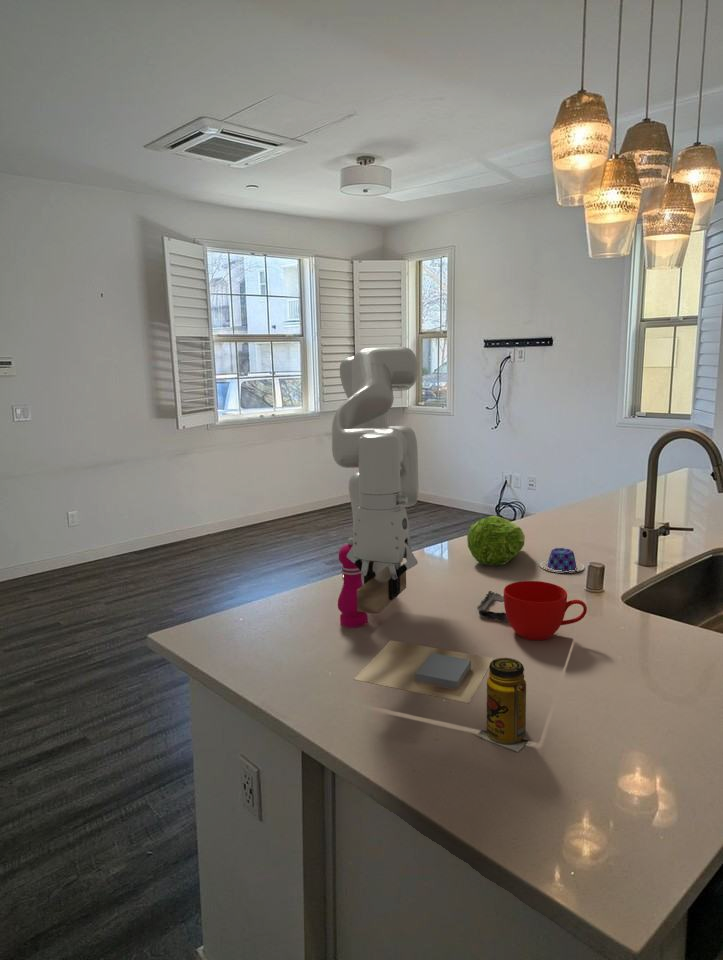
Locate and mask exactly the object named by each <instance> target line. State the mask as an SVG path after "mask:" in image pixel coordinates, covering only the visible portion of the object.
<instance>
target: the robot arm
mask: <svg viewBox="0 0 723 960" xmlns="http://www.w3.org/2000/svg"><path fill="white" fill-rule="evenodd" d="M418 365H419V363H418V360H417V357H416V354H415V352H414V351H413V350H412V349H411V348H409V347H406V346H388V347H387V346H384V347H368V348H367V347H366V348H363V349H361V350H359V351H358V352H356V353H355V354H354V356H350V357H346V358H345V359H342V361H341V362H340V364H339V377H340V382H341V385H342V388H343V391H344V393H345V395H346V397H347V399H346V400H345V401H344V402H343V403H342V404H341V405H340V406H339V408H337V410H336V411H335V413H334V416H333V419H332V425H331V451H332V452H331V453H332V457H333V460H334V461H335V464H337V465H338V466H340V467H342V468H346V469H348V468H350V469H351V468H352V469H354V468H357V469H358V471H357V472H355V473H353V474H352V475H351V476H350V478H349V481H348V493H349V500H350V503H351V504H350V506H351V511H352V512H351V513H352V525H353V529H352V530H353V535H352V536H353V537H352V538H353V546H352V548H351V549H350V551H349V552H348V554H347V558H348V559H349V560H351V561H352V562H353V563H355V565H356V566H357V567H358V569H359V570H360V571H361V574H362V575H361V578H362V584H363V585H364V584H365V583H366V582H368V581H369V580H371V579H372V578H373V577H374V576H376V574H378V573H379V572H380V571H381V570H383V569H384V568H385V567H386V566H389V569H390V574H391V578H390V579H389V581H388V583H389V599H390V600H393V601H394V600H396V598H397V597H398V596H399V595H400V594H401V593H400V576H401V575H402V574H403V573H404V572H405V571H406V572H407V571H408V570H410V569H412V568H414V567H416V566H417V565H418V559H417V557H416V556H415V555H414V553H413V551H412V550H411V549H412V544H411V532H410V525H409V519H408V513H407V510H406V507H407V508H408V507H412V506H414V505H416V503H417V502H418V499H419V458H418V455H419V454H418V441H417V440H418V439H417V437H416V433H415V431H414V430H413V429H412V428H411V427H409V426H407V425H393V426H392V425H390V426H389V425H388V424H387V413H388V412H389V410H390V409H391V408H392V406H393V404H394V392H400V391H401V392H402V391H403V392H404V391H408V390H410V389H411V388H412V387H413V386H414V385H415V383H416V382H417V379H418V376H419V375H418V374H419V366H418ZM404 559H405V560H406V562H405V563H403V561H404ZM402 563H403V564H402ZM341 573H342V572H341ZM341 576H342V577H341V578H342V579H341V580H342V581H343V582H344V575H343V573H342V574H341Z"/></svg>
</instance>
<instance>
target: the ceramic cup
mask: <svg viewBox="0 0 723 960" xmlns="http://www.w3.org/2000/svg"><path fill="white" fill-rule="evenodd" d="M503 596H504V601H503V605H504V607H503V608H504V611H505V612H504V613H506V616H507V619H508V621H509V623H508V624H509V625H510V627H511V628H512V630H513V631H514V632H515V633H516V634H517V635H518V636H519V637H521V638H523V639H526V640H530V641H544V640H548V639H550V638H551V637H552V636H553V635H554V634H555V633H557V632H558V630H559V629H560V628H561V626H565V625H571V624H576V623H578V622H579V621H581V620H582V619H584V618H585V616H586V614H587V613H588V612H587V610H588V607H587V605H586V603H585V602H584V601H583V600H581V599H572V600H569V601H568V600H567V599H568V593H567V590H566V589H564V587H562V586H560V585H557V584H555V583H550V582H546V581H539V580H524V581H523V580H521V581H520V580H519V581H516V582H511V583H509V584H507V585H505V587H504V589H503ZM575 604H576V605H581V607H582V608H583V611H582V612H581V614H579V616H577V617H573V618H571V619H567V620H566V619H565V620H564V618H565V616H566V615H565V614H566V612H567V610H568V609H569V608H570V607H571V606H572V605H575Z"/></svg>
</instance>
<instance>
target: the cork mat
mask: <svg viewBox="0 0 723 960" xmlns="http://www.w3.org/2000/svg"><path fill="white" fill-rule="evenodd" d="M431 653H435V654H440V655H446V656H451V657H457V658H463V659H468V660H471V668H470V670H469V671H468V673H467V675H466V676H465V678H464V679H463V681H462V683H461V684H460V686H459V688H458V689H457V690H452V689H447V688H442V687H437V686H432V685H427V684H422V683H417V682H416V681H415V673H416V671H417V670H418V669H419V668H420V666H421V665H422V664H423V662H424V661H425V660H426V659H427V657H428V656H429V655H430V654H431ZM493 660H495V657H488V656H485V655H477V654H473V653H466V652H461V651H455V650H454V651H453V650H448V649H444V648H443V649H442V648H436V647H431V646H426V645H425V646H424V645H419V644H415V643H414V644H413V643H410V642H409V643H408V642H401V641H397V640H396V641H395V640H389V642H388V643H387V644H386V645H384V646H383V648H382V649H381V650H380V651H379V652H378V653H377V654H376V655H375V656H374V658H372V659H371V660H370V661H369V662H368V664H367V665H366V666H364V668H362V670H361V671H360V672H359V673H358V674H357V675H356V676H355V677H354V678H353V680H354V681H360V682H364V683H370V684H372V685H373V684H374V685H379V686H384V687H389V688H393V689H398V690H402V691H407V692H413V693H418V694H422V695H428V696H433V697H435V698H436V697H437V698H442V699H446V700H452V701H455V702H456V701H457V702H461V703H465V704H470V702H471V700H472V699H473V697H474V695H475V694H476V691H477V690H478V689H479V686H480V684H481V682H482V681H483V679H484V677H485V675H486V674H487V672H488V670H489V669H490V667H489V666H490V663H491V662H492V661H493Z"/></svg>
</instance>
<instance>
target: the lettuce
mask: <svg viewBox="0 0 723 960" xmlns="http://www.w3.org/2000/svg"><path fill="white" fill-rule="evenodd" d="M466 537H467V538H466V539H467V547H468V550H469V551H470V553H471V555H472V557H473V558H474V559H475V560H476V561H477V563H478V564H480V565H487V566H493V567H494V566H498V567H499V566H501V565H505V564H507V563H509V562H510V561H511V560H512V559H514V558H515V557H516V556H517V555H519V553H520V552H521V550H522V549H523V547H524V546H525V538H526V535H525V534H524V531H523V530H522V528H521V527H520V526H518V525H516V524H515V523H513V522H512V521H509V519H506V518H505V517H504V518H503V517H500V516H497V515H490V516H486V517H484V518H481V519H479V520H478V521H475V522H474V523H473V524H471V525H470V528H469V531H468V533H467V535H466Z"/></svg>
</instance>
